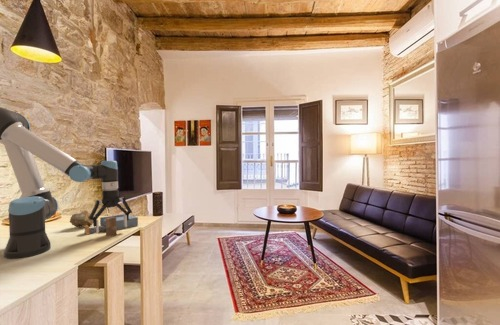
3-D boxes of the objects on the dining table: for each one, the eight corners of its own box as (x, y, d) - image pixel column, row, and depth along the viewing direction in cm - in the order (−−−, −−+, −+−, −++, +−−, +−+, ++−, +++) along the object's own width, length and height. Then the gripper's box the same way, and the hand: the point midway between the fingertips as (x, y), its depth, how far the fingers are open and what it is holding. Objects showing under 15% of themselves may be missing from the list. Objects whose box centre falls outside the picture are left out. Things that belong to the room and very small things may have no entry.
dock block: (108, 231, 140) (108, 222, 140) (100, 225, 152) (100, 217, 152) (137, 225, 151) (137, 217, 151) (128, 221, 163) (127, 213, 163)
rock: (84, 229, 144) (84, 212, 144) (67, 229, 144) (66, 212, 144) (97, 224, 156) (97, 208, 156) (81, 224, 156) (81, 208, 156)
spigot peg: (108, 236, 130) (107, 219, 130) (106, 235, 133) (105, 218, 132) (116, 234, 132) (116, 218, 132) (114, 233, 135) (113, 216, 135)
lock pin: (86, 234, 133) (86, 227, 133) (84, 232, 137) (84, 225, 137) (115, 229, 143) (115, 222, 143) (113, 227, 147) (113, 220, 146)
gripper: (84, 192, 121) (86, 236, 121) (137, 187, 138) (138, 225, 139) (81, 191, 126) (82, 233, 127) (132, 186, 144) (133, 223, 144)
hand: (111, 229), depth 133 cm, fingers open, 13 cm apart
